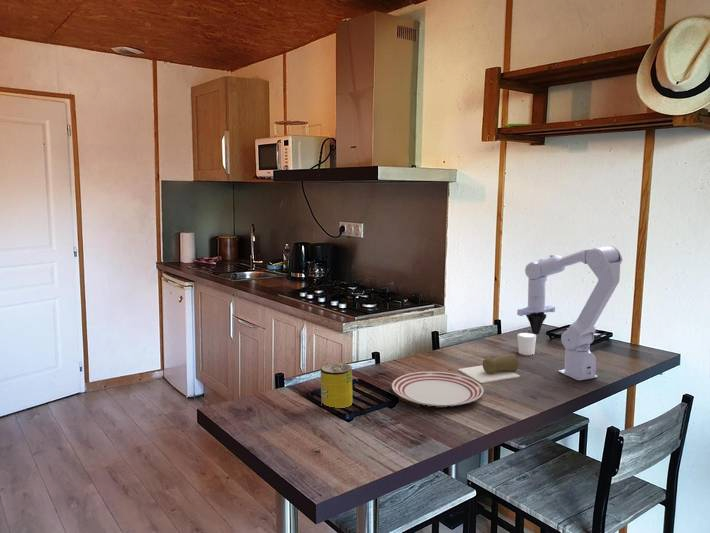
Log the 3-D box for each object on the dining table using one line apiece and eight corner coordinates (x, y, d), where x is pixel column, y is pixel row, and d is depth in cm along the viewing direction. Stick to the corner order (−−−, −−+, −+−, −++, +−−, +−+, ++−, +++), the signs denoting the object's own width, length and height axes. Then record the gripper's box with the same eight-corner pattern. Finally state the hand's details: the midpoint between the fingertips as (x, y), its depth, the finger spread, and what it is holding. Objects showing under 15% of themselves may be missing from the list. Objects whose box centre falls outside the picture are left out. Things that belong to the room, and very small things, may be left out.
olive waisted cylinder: (515, 351, 184) (487, 355, 181) (520, 369, 183) (492, 374, 179) (505, 355, 190) (478, 359, 186) (510, 372, 188) (482, 376, 184)
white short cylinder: (513, 351, 209) (513, 333, 208) (528, 349, 211) (529, 331, 210) (523, 356, 202) (524, 338, 201) (539, 354, 204) (540, 336, 203)
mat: (520, 377, 180) (520, 375, 180) (481, 383, 175) (481, 382, 175) (495, 364, 194) (495, 363, 193) (458, 370, 188) (458, 368, 188)
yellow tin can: (346, 399, 165) (345, 361, 163) (357, 410, 156) (356, 370, 155) (317, 404, 162) (316, 365, 160) (327, 416, 153) (326, 374, 151)
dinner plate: (485, 383, 176) (485, 373, 176) (481, 418, 150) (481, 406, 150) (401, 377, 183) (400, 368, 183) (383, 409, 157) (382, 398, 157)
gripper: (545, 292, 198) (544, 328, 200) (512, 295, 193) (511, 333, 195) (559, 295, 192) (558, 333, 194) (524, 299, 187) (524, 338, 189)
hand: (535, 333), depth 194 cm, fingers closed
